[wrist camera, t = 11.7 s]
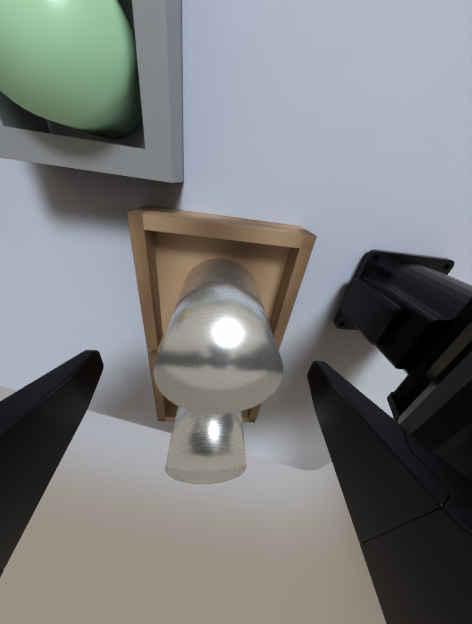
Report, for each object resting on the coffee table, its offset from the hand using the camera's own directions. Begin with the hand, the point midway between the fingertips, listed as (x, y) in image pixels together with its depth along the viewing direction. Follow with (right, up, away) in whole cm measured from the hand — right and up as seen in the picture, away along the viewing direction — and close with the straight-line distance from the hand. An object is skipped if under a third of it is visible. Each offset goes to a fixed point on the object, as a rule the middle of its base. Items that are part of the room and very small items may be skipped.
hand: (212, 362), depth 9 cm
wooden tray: (-1, 0, +9) cm, 9 cm away
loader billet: (-1, -4, +10) cm, 11 cm away
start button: (-5, +12, 0) cm, 13 cm away
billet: (0, +3, +5) cm, 6 cm away
